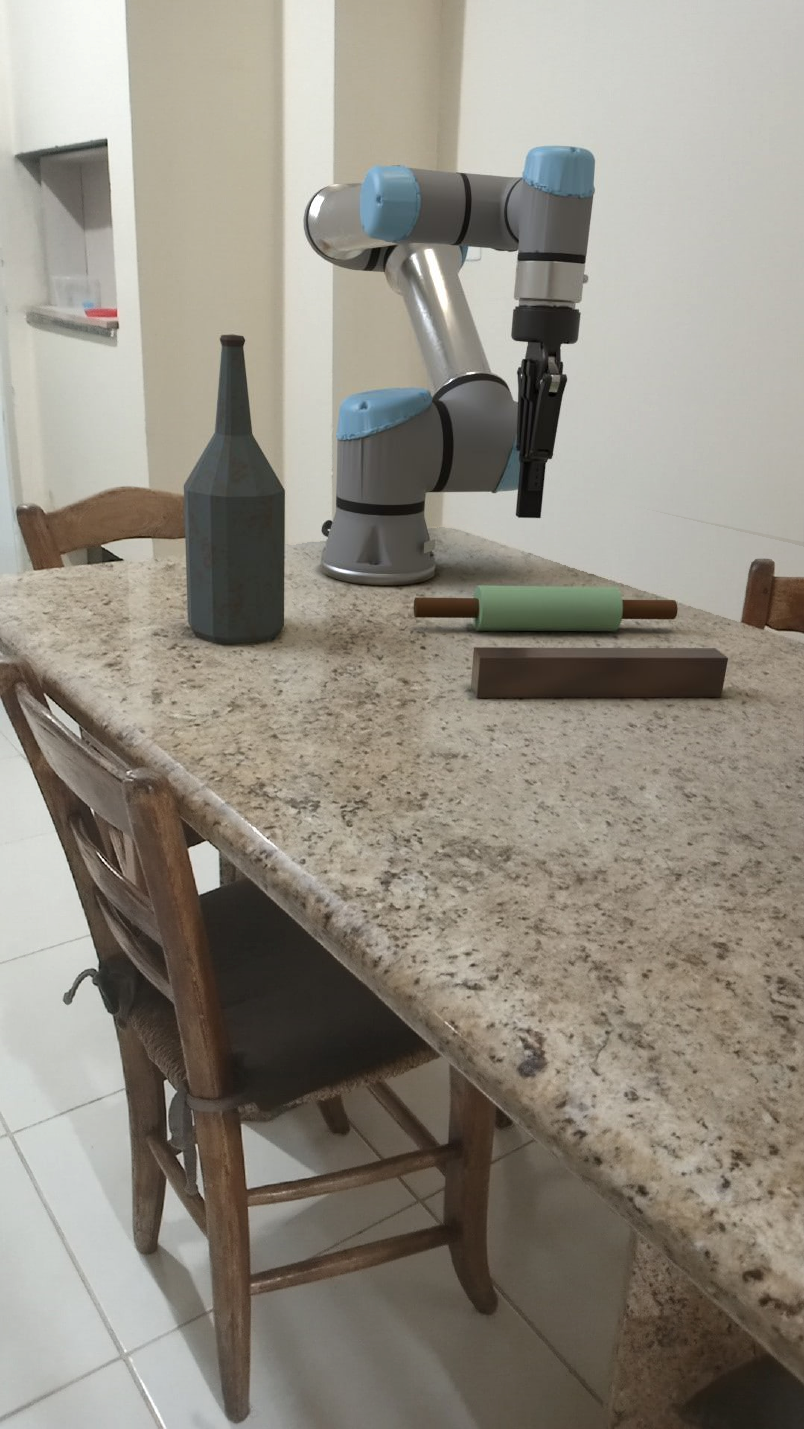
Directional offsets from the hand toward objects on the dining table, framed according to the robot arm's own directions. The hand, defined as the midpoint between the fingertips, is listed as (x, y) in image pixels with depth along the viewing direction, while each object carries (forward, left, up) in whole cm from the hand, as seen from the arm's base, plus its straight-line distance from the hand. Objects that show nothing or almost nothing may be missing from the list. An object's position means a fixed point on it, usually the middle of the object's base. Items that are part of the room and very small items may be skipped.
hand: (528, 516), depth 123 cm
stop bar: (+26, -17, -11) cm, 33 cm away
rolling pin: (+8, -5, -8) cm, 12 cm away
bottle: (-9, -36, -11) cm, 38 cm away
